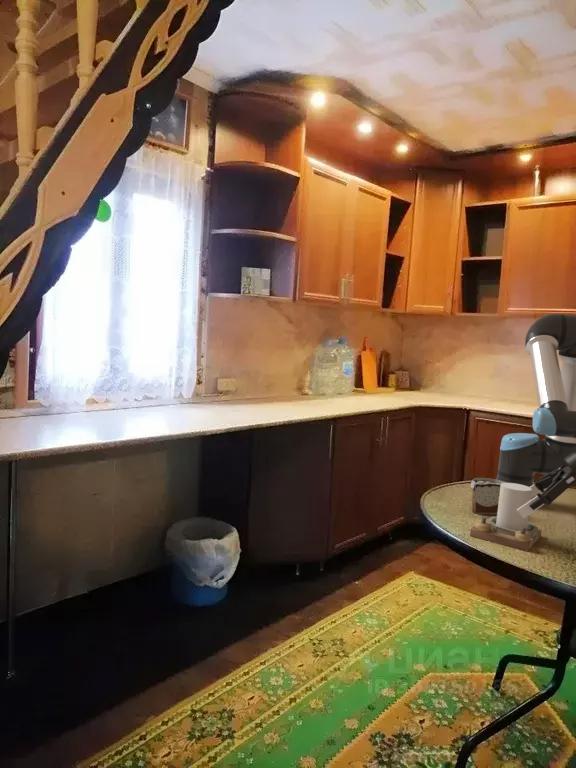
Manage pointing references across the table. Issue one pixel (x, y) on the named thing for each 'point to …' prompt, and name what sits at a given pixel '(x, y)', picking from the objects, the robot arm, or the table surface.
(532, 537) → the gear board
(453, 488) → the table surface
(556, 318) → the robot arm
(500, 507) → the tall round pillar
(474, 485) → the food container
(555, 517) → the table surface
